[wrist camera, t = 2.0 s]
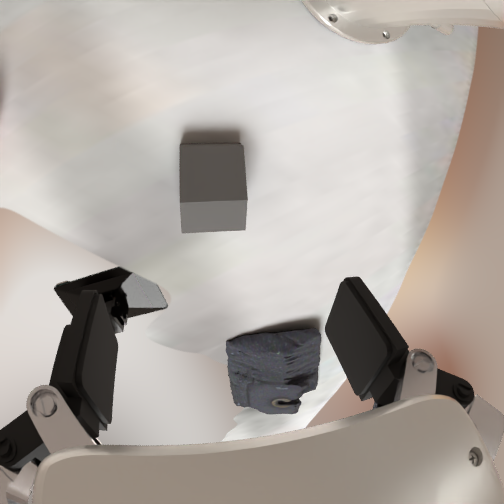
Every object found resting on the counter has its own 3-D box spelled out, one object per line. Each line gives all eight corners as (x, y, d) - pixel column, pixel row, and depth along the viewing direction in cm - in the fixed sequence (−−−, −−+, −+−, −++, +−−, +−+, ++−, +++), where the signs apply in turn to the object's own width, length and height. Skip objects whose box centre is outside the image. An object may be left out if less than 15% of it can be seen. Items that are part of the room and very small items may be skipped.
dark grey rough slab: (331, 312, 39) (345, 337, 35) (312, 389, 51) (320, 409, 47) (219, 333, 37) (225, 363, 33) (234, 405, 49) (238, 427, 45)
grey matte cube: (239, 141, 24) (250, 154, 20) (236, 206, 27) (245, 231, 23) (180, 142, 23) (178, 156, 19) (182, 208, 26) (181, 234, 22)
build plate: (82, 327, 32) (76, 354, 28) (52, 284, 28) (40, 312, 24) (169, 306, 33) (169, 335, 29) (144, 256, 28) (139, 284, 25)
